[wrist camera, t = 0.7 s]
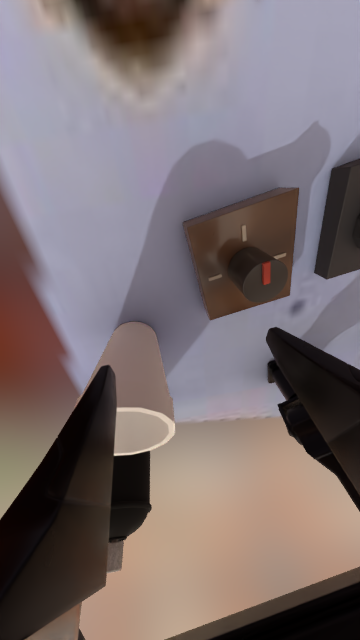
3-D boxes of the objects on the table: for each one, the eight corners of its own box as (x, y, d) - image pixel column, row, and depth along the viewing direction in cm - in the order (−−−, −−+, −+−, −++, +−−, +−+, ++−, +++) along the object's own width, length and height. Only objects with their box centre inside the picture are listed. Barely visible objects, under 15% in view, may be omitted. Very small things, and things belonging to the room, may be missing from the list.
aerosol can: (111, 380, 32) (68, 578, 16) (157, 385, 34) (161, 561, 18) (105, 405, 36) (66, 582, 20) (146, 408, 38) (141, 567, 22)
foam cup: (93, 314, 23) (45, 415, 13) (164, 309, 24) (173, 400, 14) (110, 363, 29) (86, 461, 19) (167, 357, 30) (175, 448, 20)
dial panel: (276, 284, 24) (290, 296, 22) (204, 307, 25) (210, 321, 22) (279, 187, 18) (300, 187, 15) (182, 222, 18) (187, 227, 16)
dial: (265, 277, 20) (288, 296, 16) (230, 289, 20) (246, 310, 17) (265, 241, 18) (292, 254, 14) (225, 254, 18) (242, 270, 14)
